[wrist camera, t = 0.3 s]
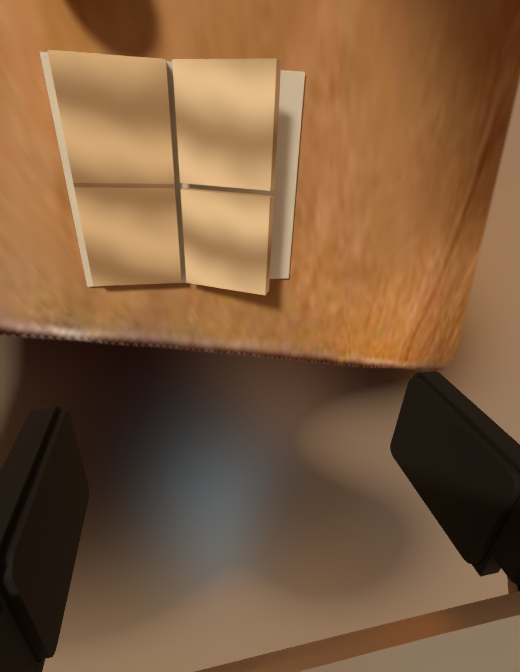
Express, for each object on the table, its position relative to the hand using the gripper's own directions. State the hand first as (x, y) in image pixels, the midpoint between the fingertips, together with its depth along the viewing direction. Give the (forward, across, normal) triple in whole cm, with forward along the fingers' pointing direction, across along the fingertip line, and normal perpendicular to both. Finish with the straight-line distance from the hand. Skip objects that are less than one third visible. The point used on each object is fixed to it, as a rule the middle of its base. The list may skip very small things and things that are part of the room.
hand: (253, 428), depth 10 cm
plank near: (+26, -3, -8) cm, 27 cm away
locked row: (+28, +6, -3) cm, 29 cm away
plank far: (+26, -3, +1) cm, 26 cm away
